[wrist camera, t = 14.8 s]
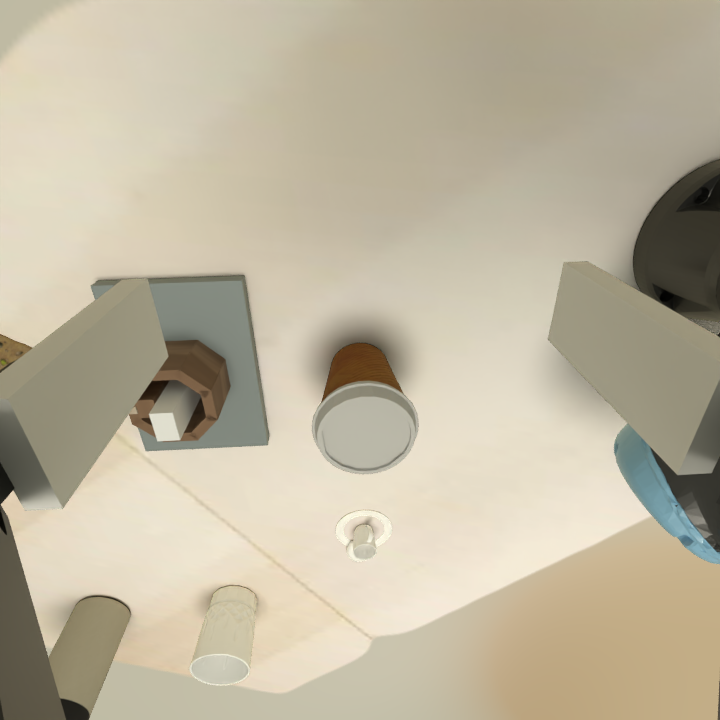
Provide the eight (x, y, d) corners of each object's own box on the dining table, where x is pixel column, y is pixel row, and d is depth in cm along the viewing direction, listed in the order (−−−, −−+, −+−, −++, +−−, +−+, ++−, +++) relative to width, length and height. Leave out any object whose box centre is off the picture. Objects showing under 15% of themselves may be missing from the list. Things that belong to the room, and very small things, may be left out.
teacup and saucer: (363, 556, 65) (365, 582, 61) (320, 535, 62) (319, 560, 58) (403, 522, 62) (407, 547, 58) (359, 499, 59) (361, 523, 55)
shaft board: (244, 275, 43) (219, 318, 34) (269, 437, 52) (255, 504, 43) (98, 280, 42) (32, 326, 33) (150, 442, 52) (111, 512, 43)
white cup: (197, 595, 66) (176, 667, 58) (238, 575, 65) (223, 647, 56) (231, 619, 70) (216, 691, 61) (271, 601, 68) (261, 673, 59)
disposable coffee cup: (335, 316, 45) (335, 376, 35) (417, 346, 48) (440, 412, 37) (304, 388, 49) (295, 461, 39) (380, 413, 52) (392, 489, 41)
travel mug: (64, 606, 66) (-21, 759, 50) (105, 588, 64) (31, 740, 49) (102, 631, 70) (35, 781, 54) (142, 615, 68) (84, 765, 52)
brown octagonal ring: (221, 338, 44) (205, 369, 39) (234, 404, 48) (222, 440, 43) (140, 342, 44) (113, 373, 39) (160, 407, 48) (138, 444, 42)
